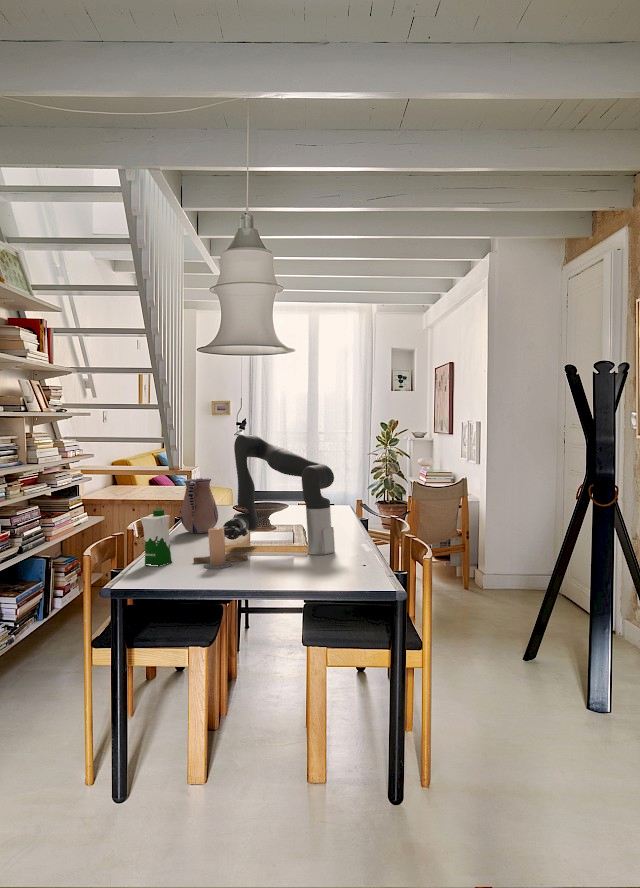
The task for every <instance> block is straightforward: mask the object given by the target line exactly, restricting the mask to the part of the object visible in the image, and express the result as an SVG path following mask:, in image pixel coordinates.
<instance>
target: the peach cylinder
mask: <svg viewBox="0 0 640 888" xmlns="http://www.w3.org/2000/svg"><path fill="white" fill-rule="evenodd" d="M207 533H208V544H209V545H208V546H209V549H208V550H209V556H210V562H209V563H210V566H223V565H226V562H227V561H226V555H227V554H226V542H225V541H226V540H225V538H226V537H224V528H223V527H214V528H210V529H208V532H207Z"/></svg>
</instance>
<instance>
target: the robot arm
mask: <svg viewBox="0 0 640 888" xmlns="http://www.w3.org/2000/svg"><path fill="white" fill-rule="evenodd" d="M233 448H234V460H235V468H236V476H237V477H236V478H237V506H238V507H240V508H243V509H246V510H247V511H248V512H238V513H237V512H236V513H235V514H234V515H233V517H232V518H231V519H230V520H228V521H226V522H225V523H224V524H223V525H222V528H224V537H225V538H227V540H230V541H231V540H237V539H238V538H239V537H246V536H247V535H248V534H249V531H254V530H255V531H256V529H257V528H258V526H259V518H258V514H257V511H256V506H255V505H256V503H255V499H256V498H255V497H256V495H255V494H256V490H255V483H254V481H253V478H252V476H251V473H250V471H249V467H248V458H255V459H256V458H257V459H261V460H263V461H266V463H267V464H268V466H269V467H270V468H271V469H272V470H274V471H277V472H278V473H280V474H283V475H287V476H293V477H300V478H301V487H302V496H303V501H304V503H305V511H306V512H305V513H306V514H305V515H306V531H307V549H308V552H307V553H308V555H318V556H319V555H323V556H325V555H329V554H332V553H335V552H336V547H335V546H336V545H335V531H334V526H332V515H331V514H332V513H331V501H330V499H329V498H326V497H324V496H323V495H322V492H321V490H324V489H327V488H329V487H331V486H332V485H333V483H334V481H335V475H334V472H333V470H332V469H331V467H329V466H328V465H327V464H323V463H320V462H316V461H313V460H310V459H308V458H305V457H303V456H301V455H299V454H296V453H294V452H292V451H290V450H288V449H285V448H283V447H281V446H278V445H273V444H272V443H269V442H268V441H266V440H265V439H263V438H262V437H259V436H258V435H253V434H252V435H250V434H239V435H238V436H237V437H236V438H235V441H234V445H233Z"/></svg>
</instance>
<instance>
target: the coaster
mask: <svg viewBox="0 0 640 888" xmlns="http://www.w3.org/2000/svg"><path fill="white" fill-rule="evenodd" d="M232 566H233V563H232V561H226V565H223V566H210V562H209V563H207V564H205V565H204V566H203V567H204V569H209V570H218V569H220V570H221V569H226V568H230V567H232Z"/></svg>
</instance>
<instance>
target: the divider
mask: <svg viewBox="0 0 640 888" xmlns="http://www.w3.org/2000/svg"><path fill="white" fill-rule="evenodd" d="M192 559H193V564H204V563H207V564H209V563H210V555H207V556H193V558H192ZM248 560H249V555H248V553H243V554H241V553H240V554H226V562H238V561H239V562H240V561H241V562H242V561H248Z"/></svg>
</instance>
